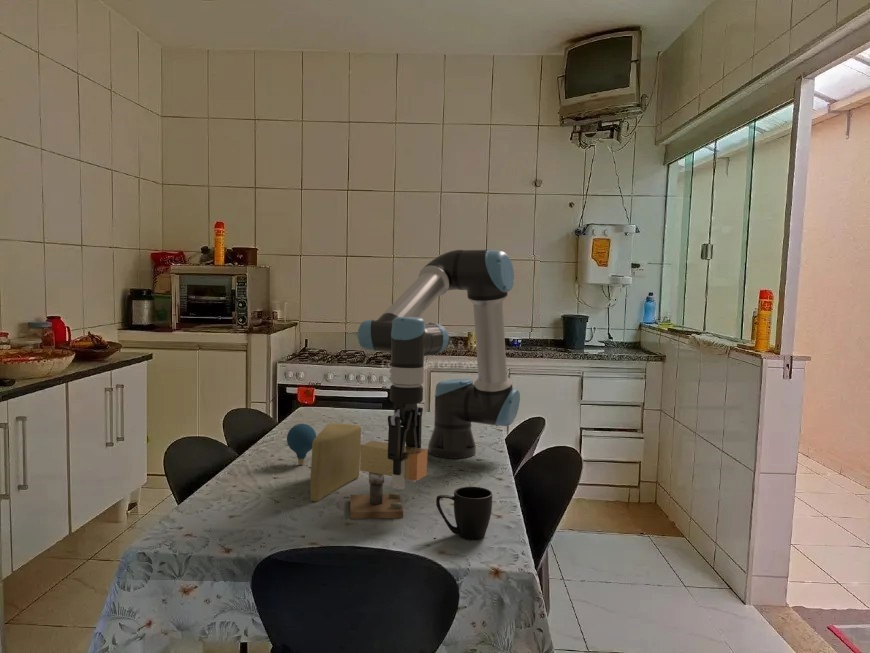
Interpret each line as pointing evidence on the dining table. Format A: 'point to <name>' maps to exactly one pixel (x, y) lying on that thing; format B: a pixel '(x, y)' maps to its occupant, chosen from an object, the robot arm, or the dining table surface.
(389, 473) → the two-tone wooden block
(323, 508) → the dining table surface
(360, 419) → the dining table surface
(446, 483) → the dining table surface
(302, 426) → the light bulb
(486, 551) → the dining table surface
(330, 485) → the cheese
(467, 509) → the mug
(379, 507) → the wooden base plate
